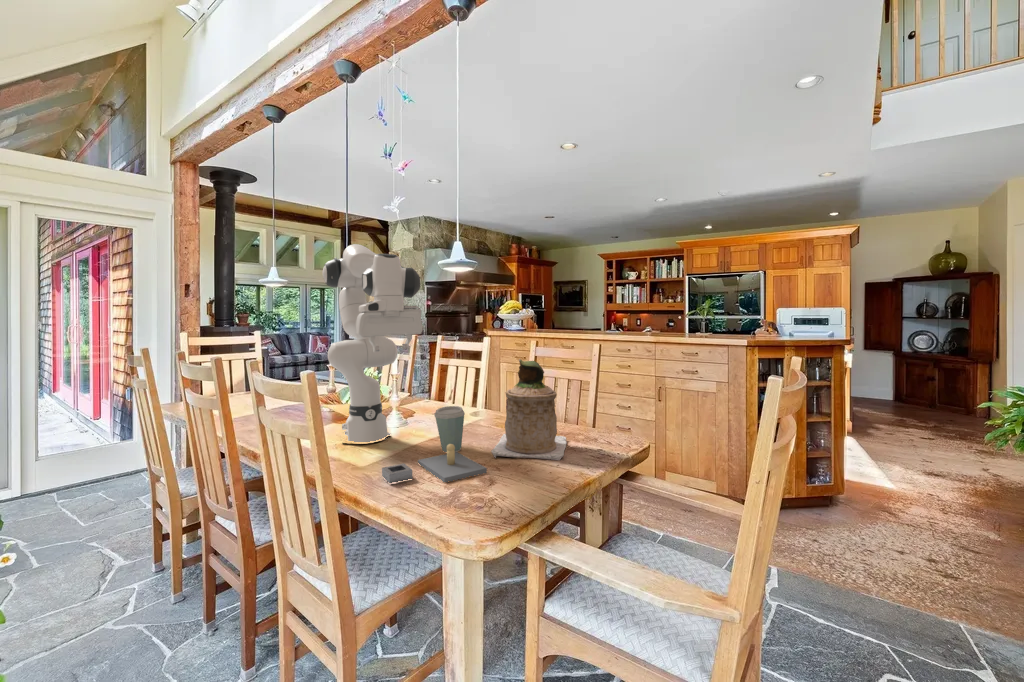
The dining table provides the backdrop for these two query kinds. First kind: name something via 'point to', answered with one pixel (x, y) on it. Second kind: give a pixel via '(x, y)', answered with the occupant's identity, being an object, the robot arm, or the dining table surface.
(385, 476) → the hollow square frame
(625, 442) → the dining table surface
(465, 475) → the keeper board
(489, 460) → the dining table surface
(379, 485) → the dining table surface
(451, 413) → the disposable coffee cup
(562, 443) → the cookie jar
